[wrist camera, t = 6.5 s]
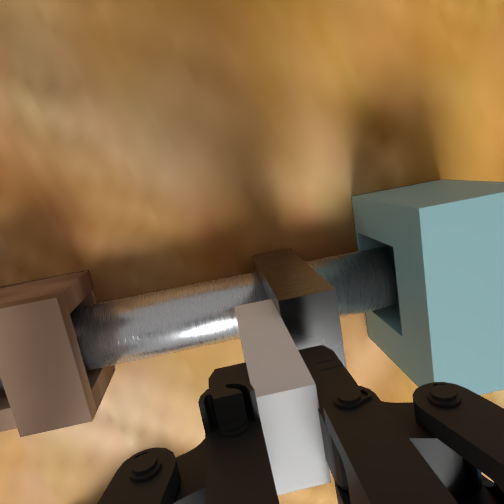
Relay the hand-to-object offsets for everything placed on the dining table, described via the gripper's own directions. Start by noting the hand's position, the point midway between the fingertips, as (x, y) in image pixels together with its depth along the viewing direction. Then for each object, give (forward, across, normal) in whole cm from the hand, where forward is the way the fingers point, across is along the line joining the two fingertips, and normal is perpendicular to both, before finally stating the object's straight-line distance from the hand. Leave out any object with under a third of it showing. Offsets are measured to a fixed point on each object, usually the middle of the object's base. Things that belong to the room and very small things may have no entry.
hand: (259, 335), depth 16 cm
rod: (+6, -2, 0) cm, 6 cm away
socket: (+6, +9, 0) cm, 11 cm away
